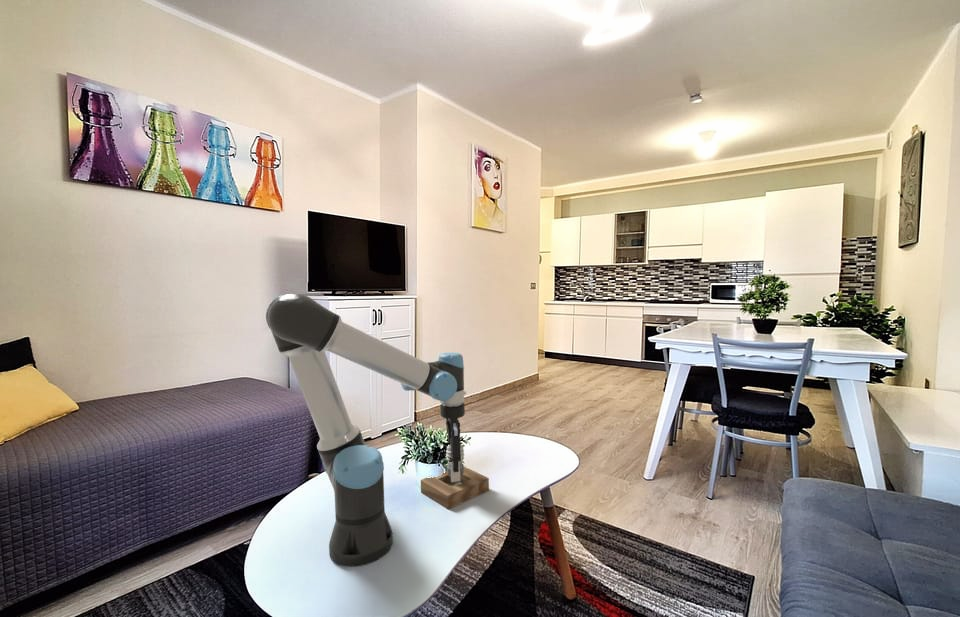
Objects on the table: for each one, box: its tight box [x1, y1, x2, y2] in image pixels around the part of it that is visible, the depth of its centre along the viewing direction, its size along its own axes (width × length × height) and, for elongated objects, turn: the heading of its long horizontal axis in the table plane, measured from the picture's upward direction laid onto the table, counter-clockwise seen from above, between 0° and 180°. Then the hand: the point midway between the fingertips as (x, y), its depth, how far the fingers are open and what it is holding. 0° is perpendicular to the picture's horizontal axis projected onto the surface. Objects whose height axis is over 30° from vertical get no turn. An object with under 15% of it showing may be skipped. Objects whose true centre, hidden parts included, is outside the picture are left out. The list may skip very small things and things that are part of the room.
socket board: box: [420, 466, 490, 510], centre depth 130 cm, size 16×14×4 cm
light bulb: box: [445, 444, 465, 477], centre depth 130 cm, size 6×6×12 cm
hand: (454, 476), depth 130 cm, fingers closed on light bulb, 5 cm apart
